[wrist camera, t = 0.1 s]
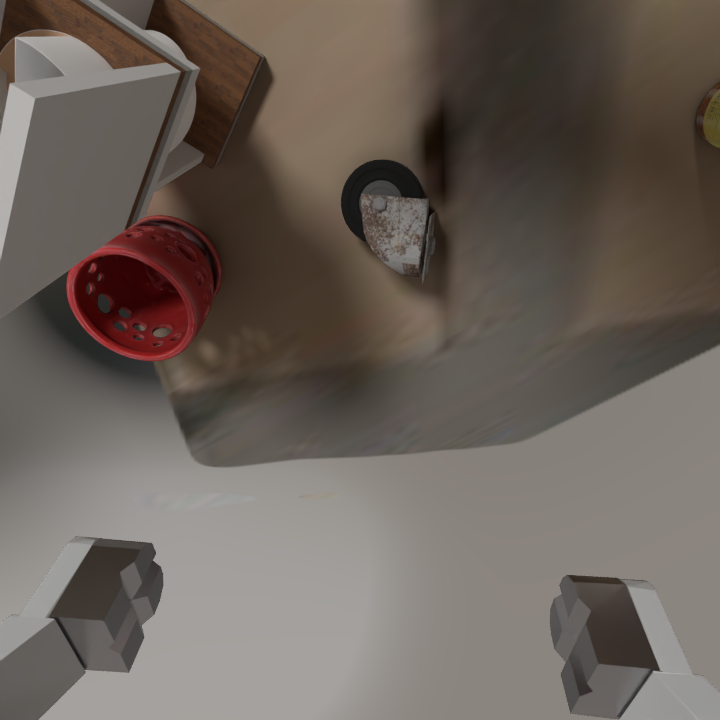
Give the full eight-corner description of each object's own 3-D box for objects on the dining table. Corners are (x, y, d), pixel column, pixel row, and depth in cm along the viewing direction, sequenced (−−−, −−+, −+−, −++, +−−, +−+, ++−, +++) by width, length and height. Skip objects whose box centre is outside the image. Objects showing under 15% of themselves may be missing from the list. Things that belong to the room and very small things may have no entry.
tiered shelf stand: (218, 164, 53) (-15, 329, 23) (121, 103, 50) (-276, 204, 21) (265, 56, 47) (35, 98, 18) (158, -18, 44) (-316, -112, 15)
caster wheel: (353, 157, 54) (447, 165, 52) (346, 262, 58) (433, 272, 56) (337, 155, 48) (443, 164, 46) (331, 273, 52) (427, 284, 50)
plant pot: (108, 204, 56) (44, 242, 46) (224, 210, 55) (184, 249, 45) (134, 308, 63) (83, 360, 53) (236, 314, 62) (205, 368, 52)
